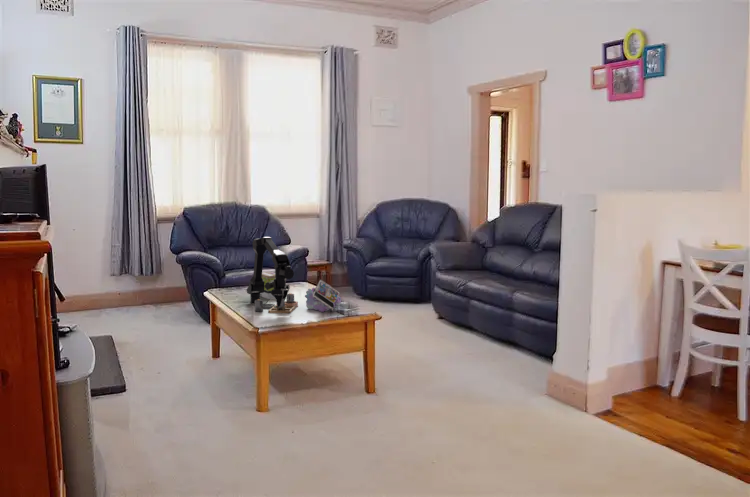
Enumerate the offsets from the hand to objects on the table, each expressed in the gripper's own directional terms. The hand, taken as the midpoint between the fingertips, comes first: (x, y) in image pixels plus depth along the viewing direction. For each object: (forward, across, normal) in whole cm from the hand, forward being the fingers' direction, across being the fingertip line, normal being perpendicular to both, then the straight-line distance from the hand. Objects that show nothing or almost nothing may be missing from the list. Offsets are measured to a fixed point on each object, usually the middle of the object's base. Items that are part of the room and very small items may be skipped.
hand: (280, 304), depth 352 cm
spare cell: (+5, +1, -12) cm, 13 cm away
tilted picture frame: (+5, -11, +22) cm, 25 cm away
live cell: (+4, 0, 0) cm, 4 cm away
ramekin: (+5, -15, +2) cm, 16 cm away
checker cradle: (+5, -10, -9) cm, 14 cm away
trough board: (+5, -3, 0) cm, 6 cm away
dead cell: (+4, -15, +2) cm, 16 cm away
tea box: (+5, -46, -18) cm, 50 cm away
